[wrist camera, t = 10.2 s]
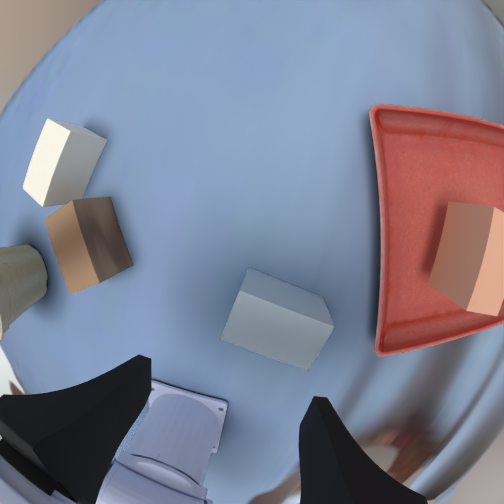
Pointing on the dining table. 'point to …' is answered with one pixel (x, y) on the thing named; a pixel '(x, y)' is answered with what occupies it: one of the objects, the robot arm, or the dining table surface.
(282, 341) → the slate-blue brick
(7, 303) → the flower pot
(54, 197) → the cream brick
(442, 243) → the terracotta brick
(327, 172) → the dining table surface
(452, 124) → the plant saucer
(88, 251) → the walnut brick
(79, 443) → the robot arm
